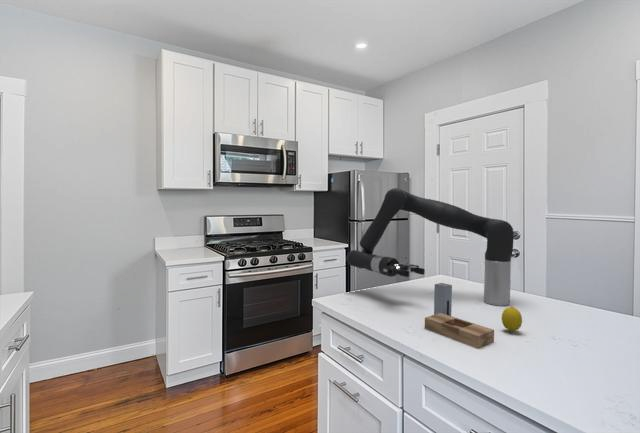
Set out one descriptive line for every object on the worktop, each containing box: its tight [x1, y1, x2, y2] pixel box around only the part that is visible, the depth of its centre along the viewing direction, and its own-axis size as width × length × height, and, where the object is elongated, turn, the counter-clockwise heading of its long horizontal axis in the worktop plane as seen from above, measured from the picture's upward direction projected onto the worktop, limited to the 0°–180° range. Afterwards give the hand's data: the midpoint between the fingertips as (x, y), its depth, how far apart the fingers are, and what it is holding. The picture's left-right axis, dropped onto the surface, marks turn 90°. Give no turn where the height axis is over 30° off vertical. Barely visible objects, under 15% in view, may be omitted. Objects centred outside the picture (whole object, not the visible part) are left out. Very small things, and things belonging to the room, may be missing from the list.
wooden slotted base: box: [424, 313, 495, 349], centre depth 103 cm, size 8×18×4 cm, turn 35°
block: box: [433, 282, 453, 316], centre depth 117 cm, size 4×4×12 cm
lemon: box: [501, 306, 523, 333], centre depth 106 cm, size 6×6×8 cm
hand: (416, 273), depth 126 cm, fingers open, 8 cm apart
